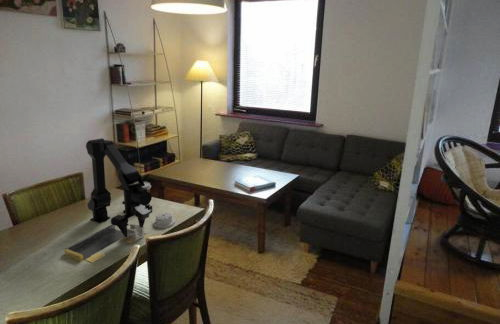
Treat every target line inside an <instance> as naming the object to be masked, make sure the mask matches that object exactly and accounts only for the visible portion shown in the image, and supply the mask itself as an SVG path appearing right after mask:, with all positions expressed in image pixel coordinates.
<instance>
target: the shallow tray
mask: <svg viewBox="0 0 500 324" xmlns="http://www.w3.org/2000/svg"><path fill="white" fill-rule="evenodd" d="M123 238H125V237H124V235H123V233H122V232H121V230H120V229H116V225H113V224H111V225H108V226H107V227H104V228H102V229H99V230H98V231H96V232H95V233H93V234H90V235H88V236H86V237H85V238H82V239H80V240H78V241H76V242H74V243H72V244H70V245H68V246H66V247H65V248H64V250H63V251H64V256H65V257H67V258H70V259H72V260H75V261H77V262H79V263H81V262H83V261H86V259H88V258H89V257H91V256H93V255H95V254H96V253H100V252H101V251H102V250H104V249H106V248H107V247H109V246H111V245H113V244H115V243H116V242H119V241H121V239H123Z"/></svg>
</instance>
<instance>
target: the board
mask: <svg viewBox="0 0 500 324" xmlns="http://www.w3.org/2000/svg"><path fill="white" fill-rule="evenodd" d="M147 235H148V233H147V232H144V237H145V236H147ZM120 241H121V242H124V243H129V244H132V243H135V241H134V240H131V239H128V238H125V237H124V238H122V239H120Z"/></svg>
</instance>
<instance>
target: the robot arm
mask: <svg viewBox="0 0 500 324" xmlns="http://www.w3.org/2000/svg"><path fill="white" fill-rule="evenodd" d="M85 149H86V151H87V154H88V156H89V157H90V158H91V165H92V177H93V179H92V180H93V189H92V192H91V193H90V199H89V201H88V202H87V209H88V210H89V211H92V217H91V218H90V221H92V222H94V223H98V224H100V223H103V222H105V221H107V220H110V224H111V225H112V224H113V225H115V227H117V228H118V230H119V231H121V232H122V233H123V235H124V238H125V237H127V228H128V226H130V224H129V220H130V219H131V218H133V217H136V218H137V221H138V225H139V226H142V227H144V225H145V221H146V219H148V218H149V217H150V214H152V213H153V205H152V204H151V201H152V199H153V197H152V194H151V192H150V193H149V192H147V189H146V188H142V186H145V184H144V182H145V181H144V179H143V178H142V176H141V173H140V172H139V170H138V169H137V168H136V167H135V166H133V165H132V164H129V163H128V162H127V161H126V159H125V158H124V157H123V155H122V154H121V152H120V151H119V149H118V148H117V147H116V146H115V143H114V141H113V140H109V139H107V140H105V138H96V139H91V140H88V141H87V142H86V144H85ZM105 157H107V158H108V159H109V161H110V162H111V164H112V166H113V167H114V168H115V169H116V171H117V179H118V180H119V183H120V184H121V185H120V188H122V189H123V199H124V200H123V201H122V204H123V205H124V210H122V213H123V214H124V215H121V214H117V215H115V216H113V217H111V216H109V214H108V210H107V208H108V207H110V206H111V200H112V196H111V195H112V193H111V192H110V191H109V190H108V189H107V187H106V176H105V175H106V174H105V173H106V172H105ZM137 182H139V183H137ZM134 183H136V184H134Z"/></svg>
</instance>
